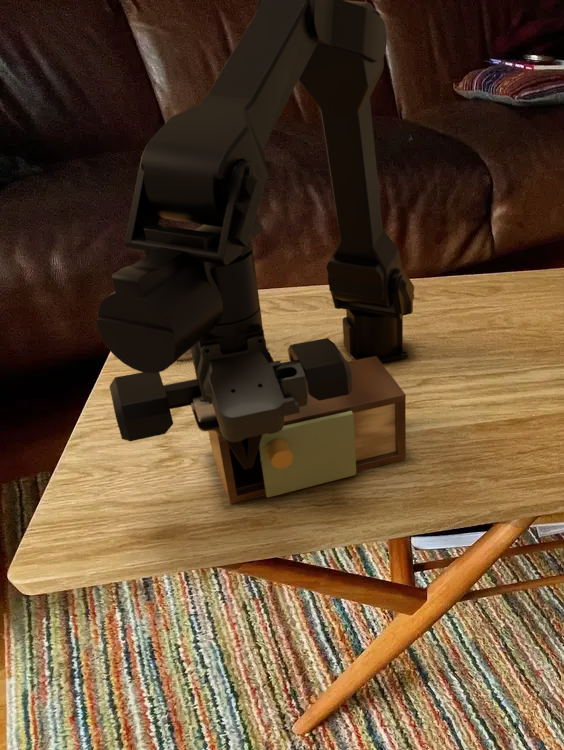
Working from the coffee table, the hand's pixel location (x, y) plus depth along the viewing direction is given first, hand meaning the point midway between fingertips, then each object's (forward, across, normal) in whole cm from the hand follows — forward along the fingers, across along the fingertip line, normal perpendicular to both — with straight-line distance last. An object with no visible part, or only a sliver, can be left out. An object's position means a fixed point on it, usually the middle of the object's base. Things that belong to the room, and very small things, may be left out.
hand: (247, 465), depth 68 cm
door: (+5, +6, 0) cm, 8 cm away
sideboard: (+6, +7, +6) cm, 11 cm away
